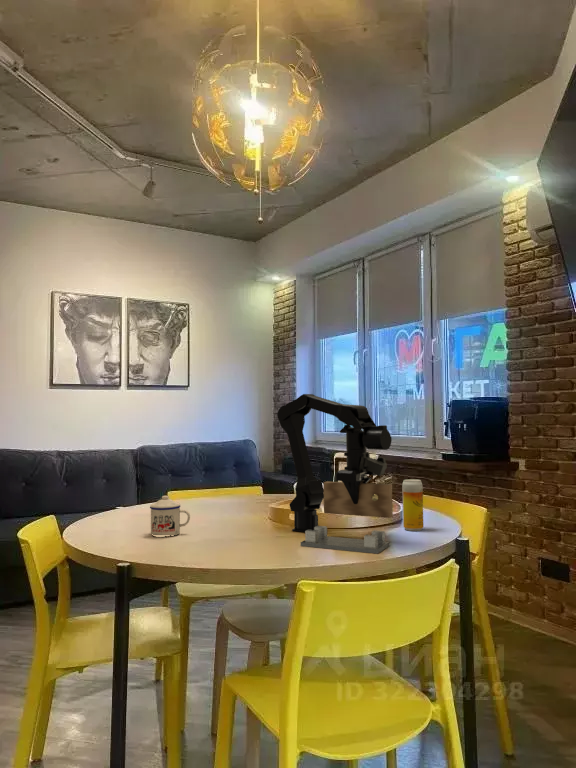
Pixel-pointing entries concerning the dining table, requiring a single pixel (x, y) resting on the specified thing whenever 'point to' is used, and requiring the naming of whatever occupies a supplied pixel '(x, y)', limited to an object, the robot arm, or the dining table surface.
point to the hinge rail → (345, 541)
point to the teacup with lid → (166, 517)
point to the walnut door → (359, 500)
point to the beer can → (412, 505)
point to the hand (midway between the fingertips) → (357, 503)
